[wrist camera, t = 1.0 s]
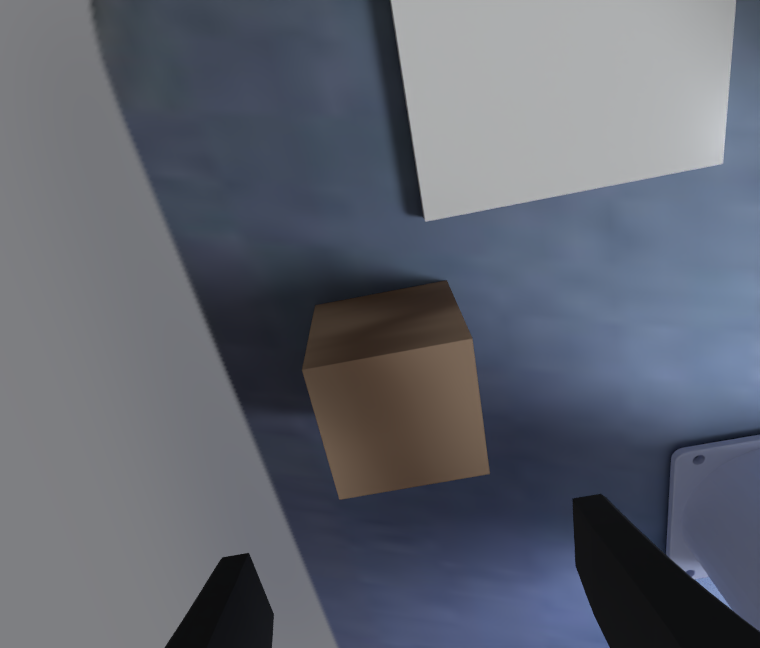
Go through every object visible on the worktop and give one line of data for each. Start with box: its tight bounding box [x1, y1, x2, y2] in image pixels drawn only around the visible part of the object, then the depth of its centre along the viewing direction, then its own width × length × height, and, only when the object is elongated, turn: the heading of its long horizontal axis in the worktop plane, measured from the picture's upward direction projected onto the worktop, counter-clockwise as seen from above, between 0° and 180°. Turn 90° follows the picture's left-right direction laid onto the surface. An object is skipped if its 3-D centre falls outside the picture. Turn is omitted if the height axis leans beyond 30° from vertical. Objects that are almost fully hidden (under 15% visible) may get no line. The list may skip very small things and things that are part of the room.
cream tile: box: [390, 0, 736, 222], centre depth 16 cm, size 10×10×1 cm
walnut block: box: [302, 280, 490, 500], centre depth 19 cm, size 5×5×5 cm
